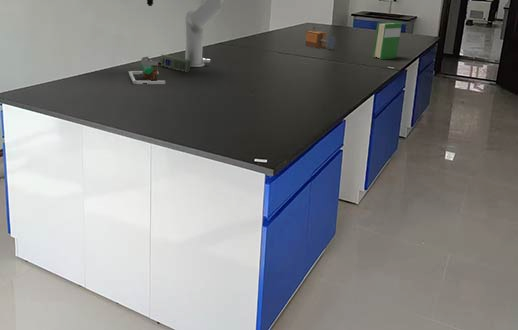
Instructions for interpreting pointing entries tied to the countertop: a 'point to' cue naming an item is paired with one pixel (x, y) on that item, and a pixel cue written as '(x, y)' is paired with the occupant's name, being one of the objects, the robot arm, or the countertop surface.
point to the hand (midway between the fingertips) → (150, 5)
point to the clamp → (318, 39)
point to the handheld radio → (175, 63)
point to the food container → (149, 68)
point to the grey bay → (143, 81)
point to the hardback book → (387, 40)
